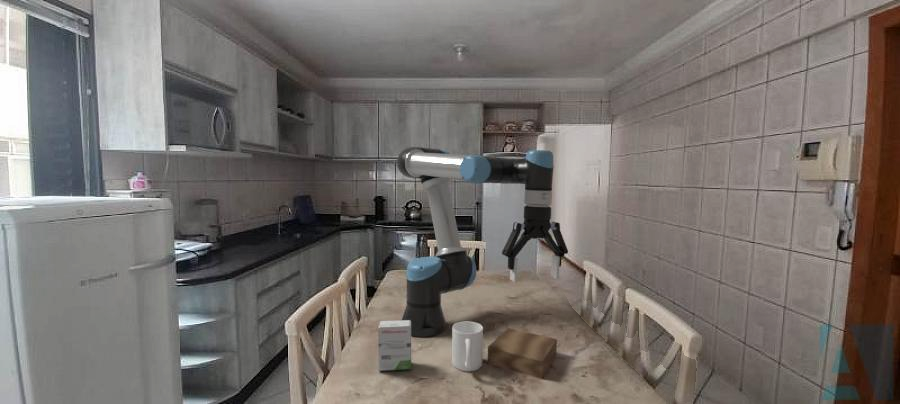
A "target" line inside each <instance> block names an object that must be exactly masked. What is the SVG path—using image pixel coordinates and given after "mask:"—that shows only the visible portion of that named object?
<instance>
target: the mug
mask: <svg viewBox="0 0 900 404" xmlns="http://www.w3.org/2000/svg"><path fill="white" fill-rule="evenodd" d="M451 329H452V330H451V332H452V335H451V337H452V338H451V339H452V341H451V363H452V365H453V367H455V369H457V370H458V371H461V372H474V371H477V370H479V369H480V368H481V367H482V365H483V354H484V353H483V349H484V348H483V347H484V345H483V344H484V326H483V325H482V324H481V323H478V322H475V321H466V320H465V321H459V322H456V323H454V324H452V328H451Z"/></svg>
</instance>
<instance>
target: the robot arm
mask: <svg viewBox="0 0 900 404" xmlns="http://www.w3.org/2000/svg"><path fill="white" fill-rule="evenodd" d="M525 154H526V155H525V158H524V157H523V158H508V157H506V158H505V157H496V156H485V155H480V154H479V155H477V154H471V155H469V154H454V153H450V152H449V151H447V150H445V149H441V148H430V147H429V148H428V147H421V146H420V147H419V146H409V147H406V148H404V149H402V150H401V151H400V152H399V154H398V156H397V160H396V166H397V169H398V171H399V172H400V174H402V175H403V176H405V177H407V178H410V179H420V182H421V186H422V187H423V188H425V189H426V193H427V199H428V204H429V209H430V215H431V219H432V224H433V229H434V230H433V231H434V235H435V241H436V247H437V252H436V253H435V255H434V256H423V257H418V258H414V259H413V260H411V261H409V263H408V264H407V269H406V275H405V276H406V277H405V278H406V305H405V308H404V309H405V310H404V312H403V316H402V318H401V320H411V337H419V338H420V337H421V338H422V337H423V338H425V337H433V336H437V335H440V334H442V333H443V332H445V331H446V326H447V325H446V318H445V315H444V311H443V307H442V304H441V303H442V294H446V293H450V292H454V291H461V290H463V289H465V288H466V289H467V288H468V287H471V285H473V283H474V282H475V280H476V276H477V265H476V262H475V260H474V259H473V258H472V257H471V256H469V255H468V254H467V250H466V248H464V247H462V245H461V239H460V235H459V230H458V229H459V228H458V225H457V221H456V216H455V210H454V206H453V200H452V195H451V191H450V186H449V185H450V183H451V182H452V180H457V181H464V182H466V183H471V184H502V185H503V184H504V185H507V184H508V185H509V184H510V185H511V184H512V185H513V184H515V185H520V184H521V185H524V200H523V203H524V204H525V206H524V207H523V222H522V223H521V222H516V221H515V222H513V224H512V231H511V233H510V234H509V236H508V238H507V241H506V243H505V245H504V246H503V249H502V251H501V254H502V256H504V257H506V258H507V269H509V270H510V271H509V280H510V281H511V282H513V283H517V282H518V266H519V265H518V263H519V261H518V258H517V256H518V254H519V253H520V252H521V251H522V250H523V248H524V247H525V246H526V244H527V243H528V242H529V241H530V240H531V239H534V240H535V239H542V240H544V241H545V242H546V244H547V245H548V247H549V248H550V249H551V251H552V252H553V253H554V254H552V255H551V269H550V270H551V271H550V277H551V278H554V279H555V280H559V278H560V277H559V275H560V268H561V266H562V258H564V257H565V255H567V254H568V253H569V249H568V247H567V245H566V242H565V239H564V237H563V234H562V231H561V224H560V222H556V221H552V222H551V221H550V220H551V219H552V207H551V205H552V202H553V201H552V199H553V179H554V178H553V175H554V168H555V166H554V154H553V152H552V151H551V150H545V149H544V150H543V149H542V150H540V149H538V150H537V149H533V150H528V151H527V152H526V153H525ZM549 230H551V232H552V234H553V237H554V239H553V237H552V235H551V233H550V232H549ZM522 231H523V232H522ZM521 232H522V233H521ZM519 236H520V238H519ZM518 238H519V239H518Z"/></svg>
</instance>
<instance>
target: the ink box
mask: <svg viewBox="0 0 900 404" xmlns="http://www.w3.org/2000/svg"><path fill="white" fill-rule="evenodd" d="M377 328H378V330H377V333H378V334H377V336H378V339H377V340H378V342H377V343H378V348H377V349H378V352H377V353H378V355H377V356H378V371H381V372H383V371H401V370H402V371H403V370H404V371H405V370H412V336H411V320H402V319H401V320H380V321H379V323H378V327H377Z"/></svg>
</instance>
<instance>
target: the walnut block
mask: <svg viewBox="0 0 900 404" xmlns="http://www.w3.org/2000/svg"><path fill="white" fill-rule="evenodd" d="M557 343H558V340H557V338H553V337H548V336H545V335H540V334H536V333H532V332H528V331H523V330H518V329H514V328H510V327H507V328H506V329H505V330H504V331H503V332H502V333H501V334H500V335H498V336H497V338H496V339H495V340H494V341H493V342H491V343H490V344H489V345H488V346H487V364H488V365H493V366H496V367H498V368H499V367H500V368H503V369H505V370H509V371H512V372H516V373H518V374H519V373H521V374H523V375H526V376H528V377H529V376H530V377H533V378H536V379H539V380H543V379H544V376H545V375H546V373H547V372H548V369H549V368H550V366H551V365H552V363H553V362H554V360H555V358H556V356H557V347H558V345H557Z"/></svg>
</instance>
